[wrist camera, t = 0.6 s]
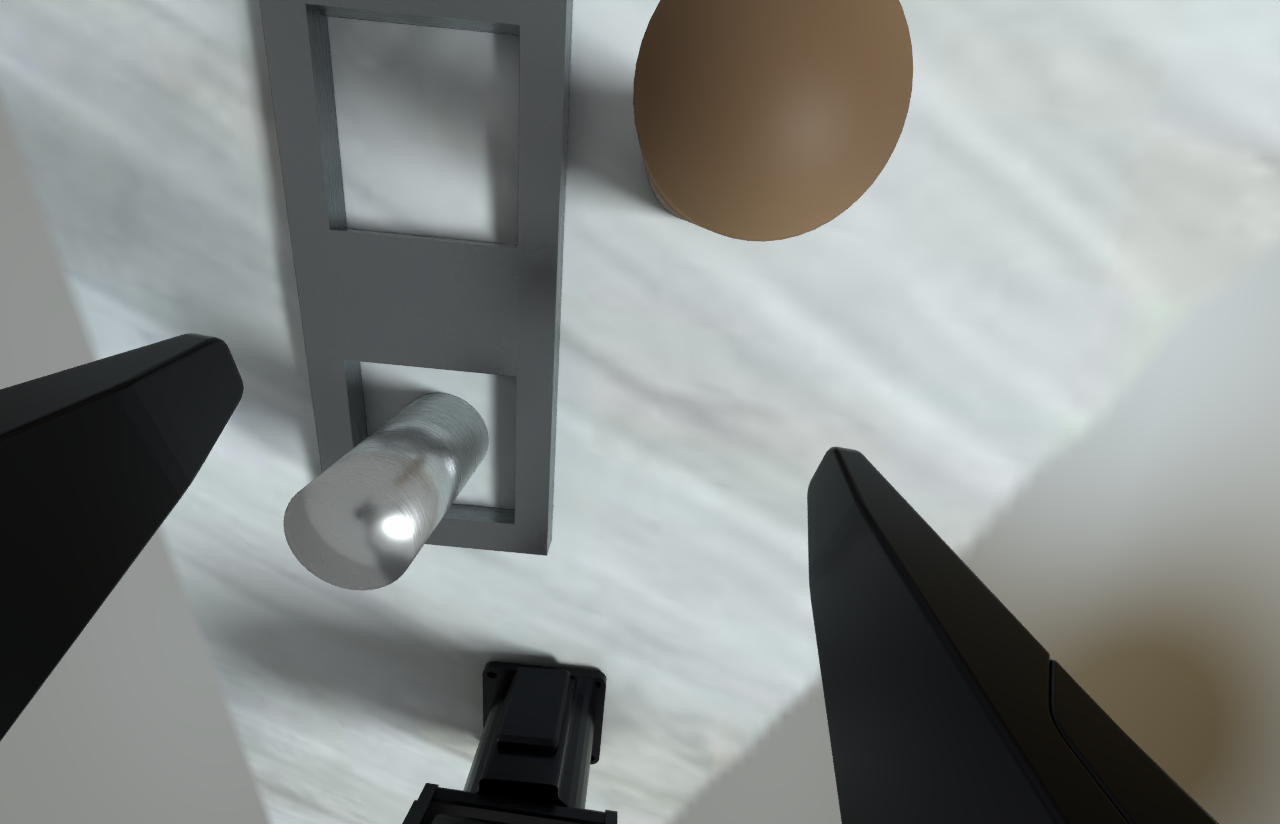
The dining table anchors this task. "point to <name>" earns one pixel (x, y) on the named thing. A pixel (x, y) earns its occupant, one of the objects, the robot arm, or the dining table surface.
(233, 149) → the dining table surface
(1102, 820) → the robot arm
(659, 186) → the walnut pin
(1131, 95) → the dining table surface
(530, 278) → the plate
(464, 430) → the steel pin
